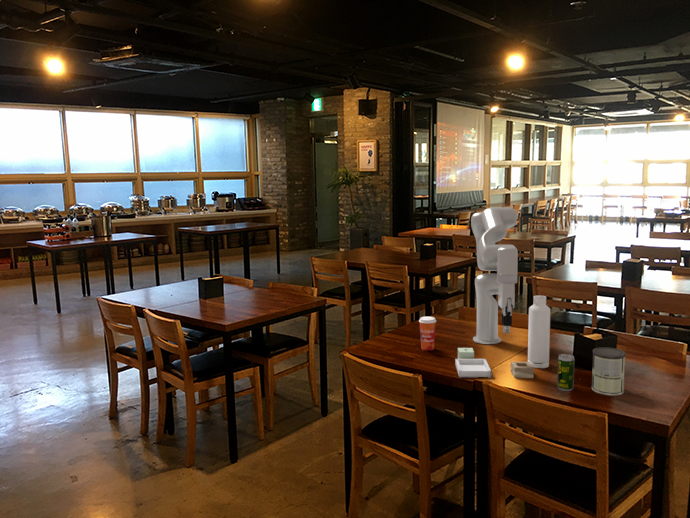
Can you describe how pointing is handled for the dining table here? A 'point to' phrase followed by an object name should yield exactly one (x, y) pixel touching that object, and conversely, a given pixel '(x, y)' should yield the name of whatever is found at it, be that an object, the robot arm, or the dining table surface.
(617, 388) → the coffee can
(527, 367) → the beige square block
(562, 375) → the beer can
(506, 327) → the rod
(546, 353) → the bottle
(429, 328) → the paper cup
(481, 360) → the grey tray
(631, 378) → the dining table surface
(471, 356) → the green block
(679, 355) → the dining table surface
